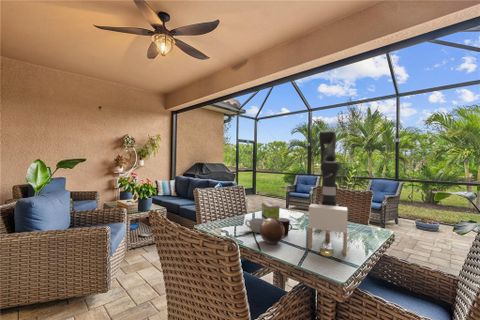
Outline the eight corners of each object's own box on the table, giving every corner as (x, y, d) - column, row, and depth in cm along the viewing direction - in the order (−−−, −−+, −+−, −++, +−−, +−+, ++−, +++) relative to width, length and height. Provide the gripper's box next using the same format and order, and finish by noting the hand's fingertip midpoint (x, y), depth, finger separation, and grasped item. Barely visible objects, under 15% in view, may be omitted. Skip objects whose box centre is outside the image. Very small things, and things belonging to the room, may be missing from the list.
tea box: (261, 219, 190) (261, 202, 190) (272, 219, 192) (272, 201, 192) (267, 225, 175) (267, 205, 175) (279, 224, 178) (280, 205, 177)
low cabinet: (309, 242, 140) (310, 203, 140) (345, 248, 132) (346, 207, 132) (307, 248, 131) (309, 206, 130) (346, 255, 123) (347, 210, 123)
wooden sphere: (254, 241, 140) (254, 217, 140) (271, 236, 149) (272, 214, 149) (271, 249, 128) (272, 223, 128) (289, 244, 137) (290, 219, 137)
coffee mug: (275, 232, 158) (275, 217, 158) (287, 232, 159) (287, 217, 159) (279, 238, 147) (280, 222, 147) (292, 238, 147) (293, 222, 147)
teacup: (266, 230, 163) (266, 219, 162) (263, 234, 152) (263, 223, 152) (247, 227, 167) (248, 217, 167) (243, 232, 157) (243, 220, 157)
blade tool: (321, 239, 147) (322, 229, 147) (333, 240, 144) (333, 231, 144) (319, 251, 127) (319, 240, 127) (333, 253, 125) (333, 242, 124)
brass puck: (327, 252, 127) (327, 249, 127) (334, 256, 121) (334, 253, 121) (318, 253, 125) (318, 250, 125) (324, 257, 119) (324, 254, 119)
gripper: (316, 193, 140) (315, 219, 140) (341, 195, 134) (341, 222, 135) (317, 191, 147) (316, 216, 147) (341, 193, 141) (340, 219, 142)
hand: (328, 219), depth 141 cm, fingers open, 8 cm apart
